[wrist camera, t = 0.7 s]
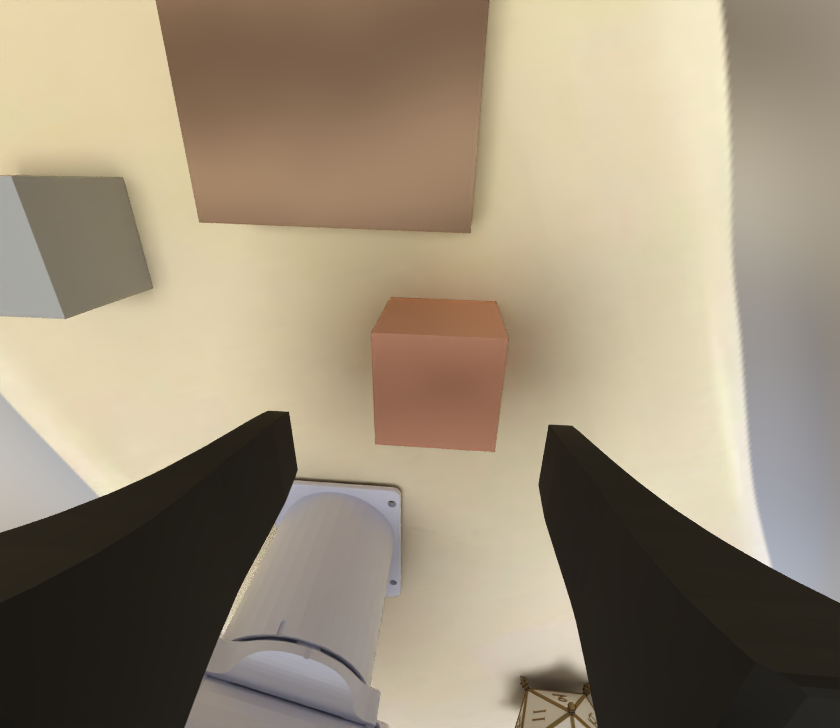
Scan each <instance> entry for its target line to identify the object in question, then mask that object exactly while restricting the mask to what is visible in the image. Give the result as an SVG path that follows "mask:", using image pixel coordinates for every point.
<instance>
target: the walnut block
mask: <svg viewBox="0 0 840 728" xmlns="http://www.w3.org/2000/svg"><path fill="white" fill-rule="evenodd" d="M156 5H157V10H158V15H159V20H160V25H161V30H162V35H163V40H164V45H165V50H166V55H167V61H168V66H169V71H170V76H171V81H172V86H173V91H174V96H175V101H176V106H177V111H178V117H179V122H180V127H181V132H182V137H183V142H184V147H185V152H186V157H187V162H188V167H189V172H190V178H191V183H192V188H193V193H194V198H195V203H196V208H197V213H198V218H199V222H202V223H227V224H252V225H277V226H302V227H327V228H352V229H377V230H402V231H427V232H452V233H471V221H472V209H473V196H474V183H475V171H476V158H477V146H478V133H479V120H480V108H481V95H482V83H483V70H484V57H485V45H486V32H487V20H488V7H489V0H156Z"/></svg>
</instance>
